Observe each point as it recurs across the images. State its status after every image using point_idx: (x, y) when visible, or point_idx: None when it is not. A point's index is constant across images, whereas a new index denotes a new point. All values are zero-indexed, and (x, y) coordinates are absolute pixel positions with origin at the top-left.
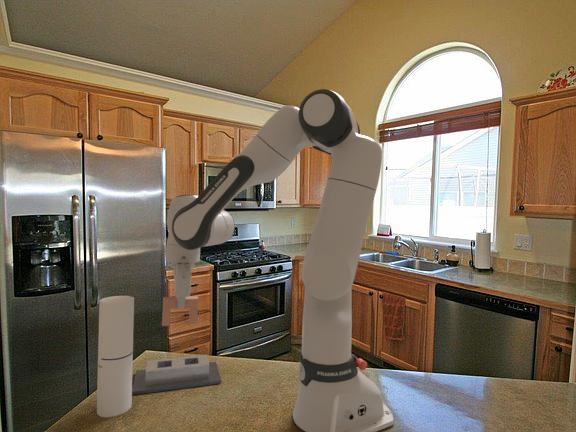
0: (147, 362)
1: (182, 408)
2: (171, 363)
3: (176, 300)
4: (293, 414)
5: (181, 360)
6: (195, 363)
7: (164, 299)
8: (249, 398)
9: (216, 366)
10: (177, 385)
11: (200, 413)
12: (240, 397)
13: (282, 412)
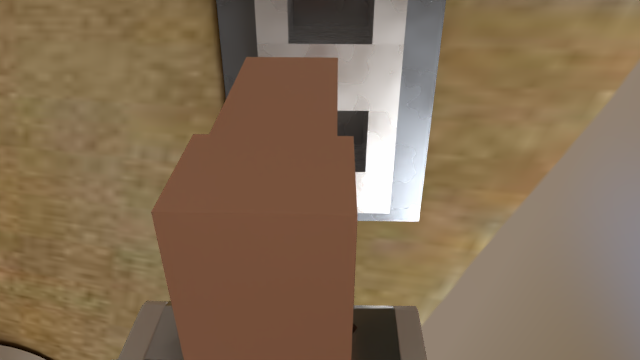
0: None
1: (65, 64)
2: (371, 38)
3: (189, 351)
4: (1, 351)
5: (354, 95)
6: (364, 149)
7: (175, 231)
8: (119, 273)
9: (369, 217)
10: (226, 53)
11: (30, 124)
12: (128, 252)
13: (35, 329)
